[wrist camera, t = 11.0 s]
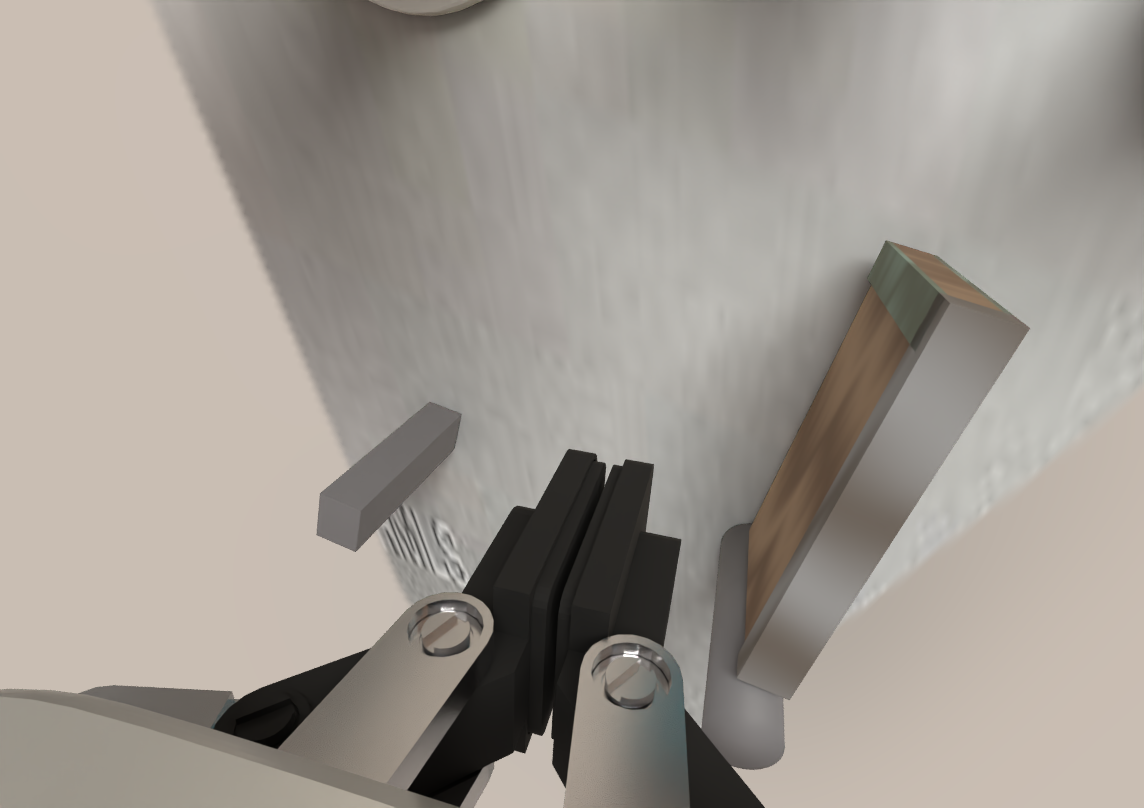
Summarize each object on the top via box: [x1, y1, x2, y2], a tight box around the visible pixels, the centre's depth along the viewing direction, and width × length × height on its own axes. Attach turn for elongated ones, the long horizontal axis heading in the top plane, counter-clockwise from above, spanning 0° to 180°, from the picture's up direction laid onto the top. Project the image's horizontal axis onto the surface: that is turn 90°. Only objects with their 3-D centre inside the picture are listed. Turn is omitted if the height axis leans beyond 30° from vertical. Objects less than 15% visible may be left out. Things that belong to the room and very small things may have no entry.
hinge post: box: [701, 524, 785, 770], centre depth 28 cm, size 3×3×12 cm
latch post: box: [317, 402, 461, 552], centre depth 32 cm, size 2×2×10 cm
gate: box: [737, 241, 1030, 700], centre depth 24 cm, size 15×2×10 cm, turn 165°
